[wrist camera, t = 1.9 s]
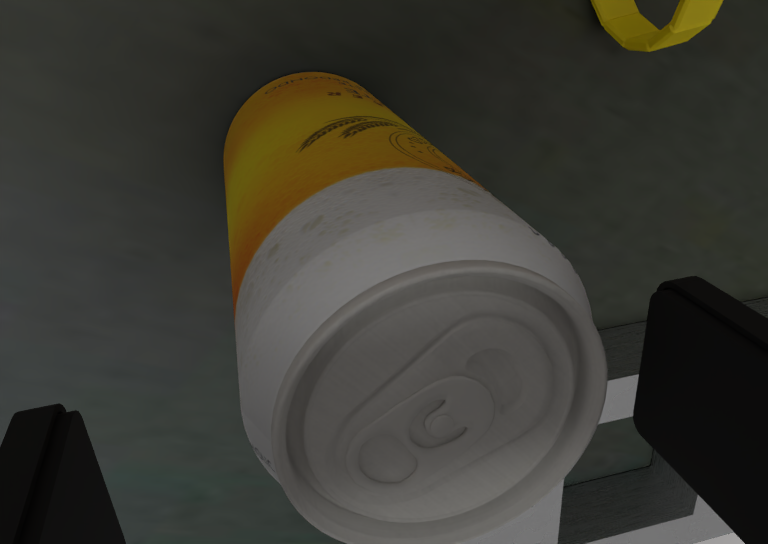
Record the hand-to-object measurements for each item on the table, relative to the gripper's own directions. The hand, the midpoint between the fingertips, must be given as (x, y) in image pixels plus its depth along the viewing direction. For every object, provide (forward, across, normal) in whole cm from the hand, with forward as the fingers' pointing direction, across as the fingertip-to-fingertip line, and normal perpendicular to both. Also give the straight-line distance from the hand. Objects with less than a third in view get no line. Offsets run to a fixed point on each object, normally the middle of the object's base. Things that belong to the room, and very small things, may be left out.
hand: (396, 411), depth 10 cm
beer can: (+14, -1, 0) cm, 14 cm away
